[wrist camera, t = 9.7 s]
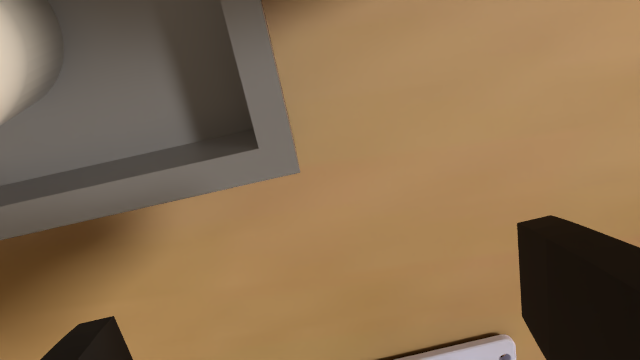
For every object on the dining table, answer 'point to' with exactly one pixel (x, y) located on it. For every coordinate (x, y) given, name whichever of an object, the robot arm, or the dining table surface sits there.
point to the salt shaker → (27, 54)
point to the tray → (146, 113)
